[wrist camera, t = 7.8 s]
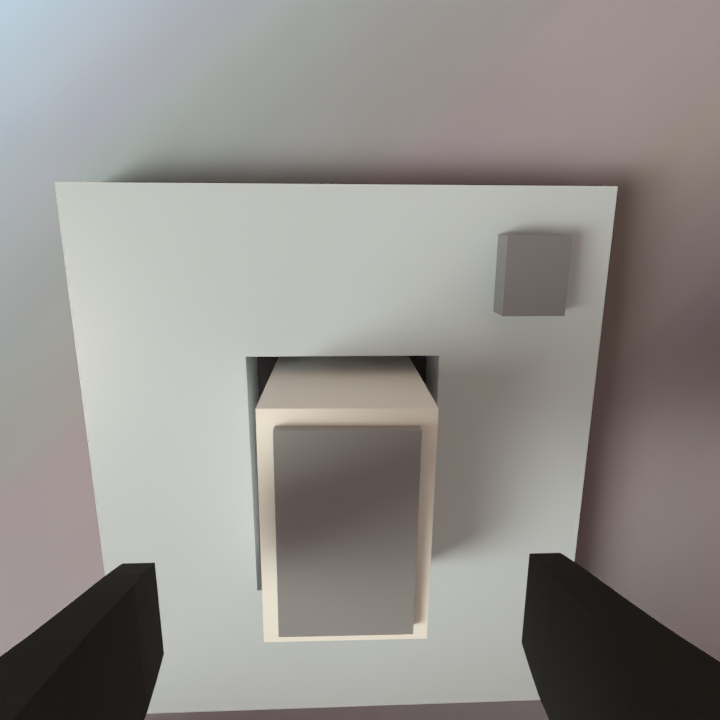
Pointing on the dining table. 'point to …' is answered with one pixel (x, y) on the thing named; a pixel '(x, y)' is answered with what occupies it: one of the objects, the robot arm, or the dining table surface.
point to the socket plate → (335, 338)
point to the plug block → (345, 498)
